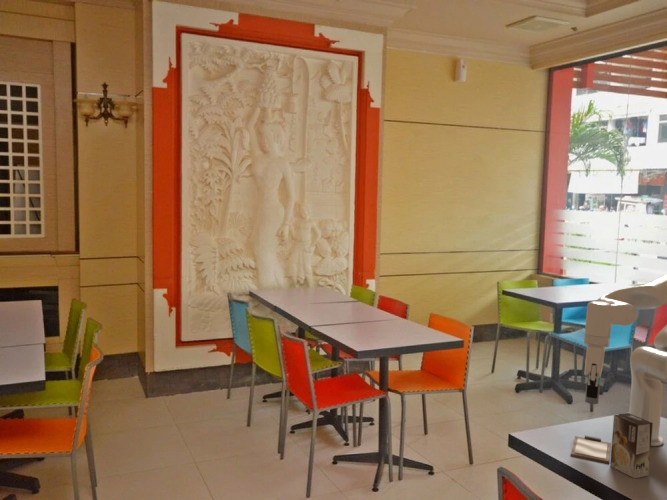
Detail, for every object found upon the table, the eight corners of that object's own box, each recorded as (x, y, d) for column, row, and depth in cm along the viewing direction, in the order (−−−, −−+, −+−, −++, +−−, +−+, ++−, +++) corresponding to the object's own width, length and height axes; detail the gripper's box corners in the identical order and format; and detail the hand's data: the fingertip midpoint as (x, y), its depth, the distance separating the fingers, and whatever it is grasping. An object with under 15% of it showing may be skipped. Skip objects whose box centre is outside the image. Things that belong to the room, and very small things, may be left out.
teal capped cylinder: (585, 398, 201) (587, 372, 200) (598, 401, 199) (601, 374, 199) (584, 402, 198) (586, 375, 197) (598, 405, 196) (600, 377, 195)
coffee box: (649, 475, 180) (654, 422, 179) (634, 479, 178) (638, 425, 176) (623, 462, 189) (628, 412, 187) (608, 465, 186) (612, 414, 185)
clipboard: (575, 438, 206) (575, 433, 206) (610, 445, 202) (611, 440, 201) (570, 455, 192) (571, 450, 192) (609, 463, 187) (609, 458, 187)
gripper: (586, 333, 206) (581, 386, 207) (582, 343, 191) (577, 400, 192) (610, 336, 203) (605, 390, 204) (608, 347, 188) (603, 405, 189)
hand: (592, 394), depth 198 cm, fingers closed on teal capped cylinder, 4 cm apart
